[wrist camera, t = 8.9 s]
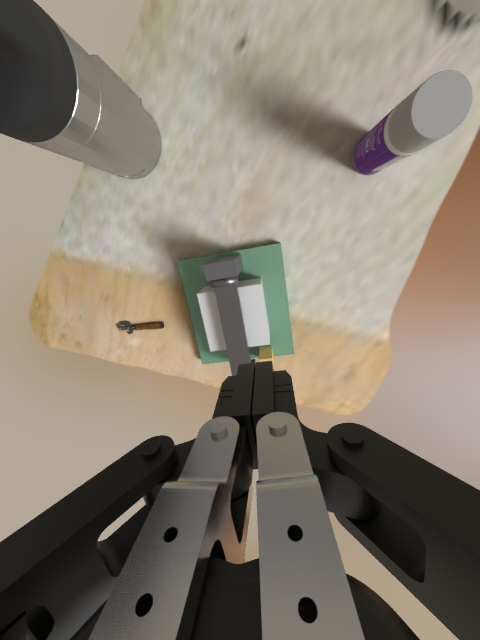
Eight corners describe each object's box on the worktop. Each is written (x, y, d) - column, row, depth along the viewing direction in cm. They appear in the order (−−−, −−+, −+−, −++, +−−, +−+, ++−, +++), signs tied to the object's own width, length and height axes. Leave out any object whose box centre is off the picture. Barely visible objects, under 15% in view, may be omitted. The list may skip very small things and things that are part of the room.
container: (347, 145, 34) (403, 88, 20) (383, 127, 33) (469, 53, 19) (357, 181, 36) (416, 151, 22) (392, 165, 35) (479, 122, 21)
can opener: (164, 321, 46) (161, 323, 45) (165, 333, 46) (163, 336, 45) (115, 319, 47) (112, 322, 46) (117, 331, 47) (114, 334, 46)
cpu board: (179, 260, 42) (156, 269, 33) (280, 242, 39) (284, 246, 30) (204, 360, 47) (189, 390, 38) (293, 349, 45) (299, 380, 36)
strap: (217, 270, 39) (208, 278, 33) (240, 266, 38) (236, 273, 33) (236, 366, 44) (232, 387, 38) (257, 364, 43) (256, 384, 38)
